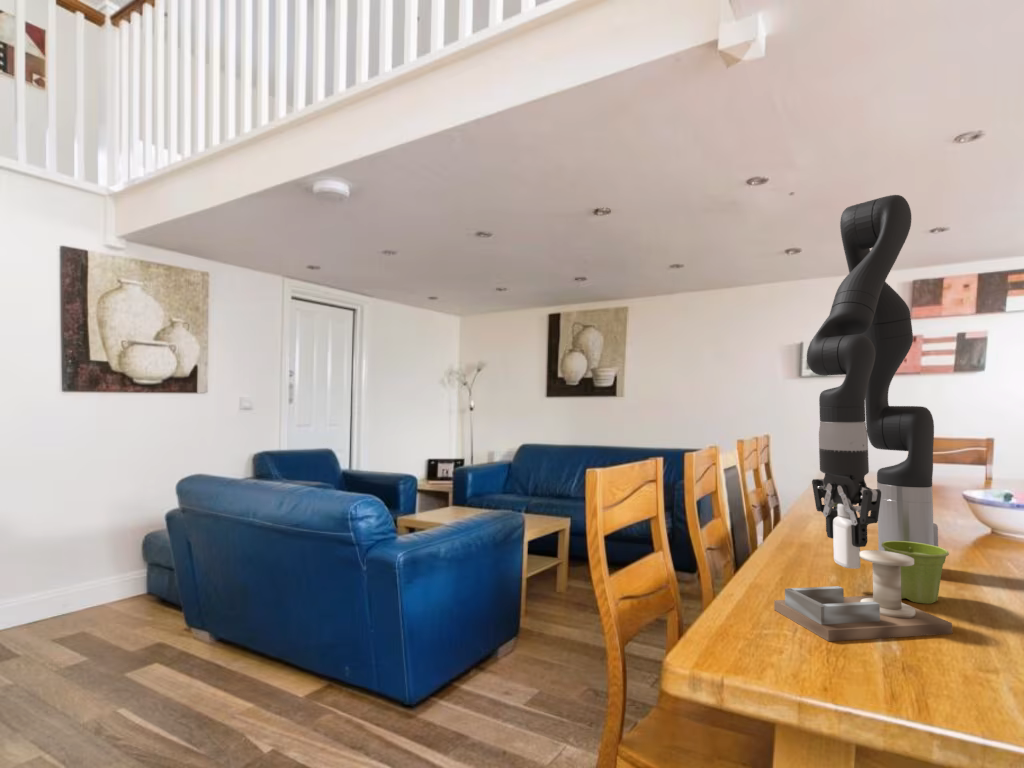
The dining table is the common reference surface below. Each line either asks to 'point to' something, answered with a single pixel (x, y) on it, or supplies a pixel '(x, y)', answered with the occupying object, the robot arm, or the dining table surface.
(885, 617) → the board
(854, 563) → the eye dropper bottle
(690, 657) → the dining table surface
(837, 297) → the robot arm
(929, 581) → the plant pot
